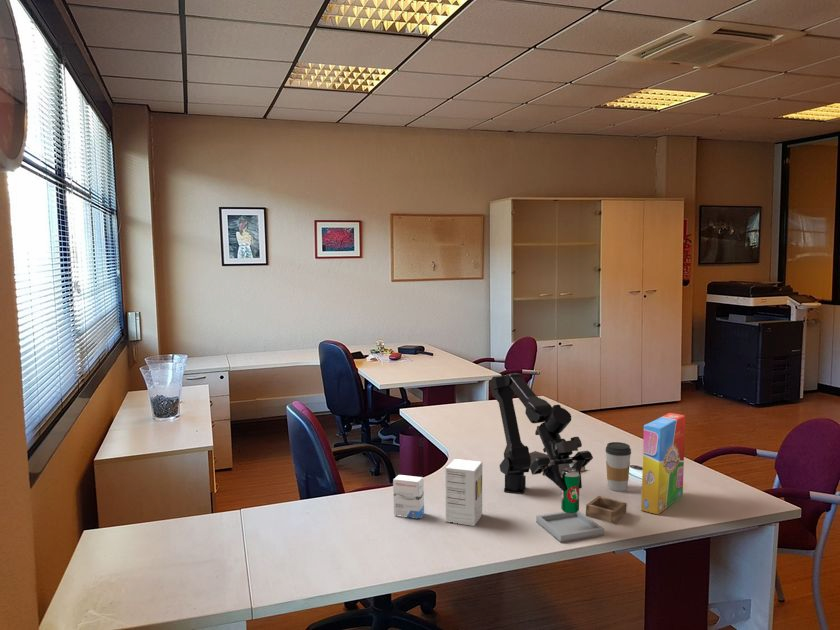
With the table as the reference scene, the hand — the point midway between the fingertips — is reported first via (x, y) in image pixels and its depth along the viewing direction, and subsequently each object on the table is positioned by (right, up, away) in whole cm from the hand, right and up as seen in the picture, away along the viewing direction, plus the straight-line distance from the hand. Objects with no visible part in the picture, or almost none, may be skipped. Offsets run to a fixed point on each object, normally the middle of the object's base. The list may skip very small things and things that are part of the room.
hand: (572, 489), depth 181 cm
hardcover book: (+3, -7, +55) cm, 55 cm away
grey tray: (-1, -12, +2) cm, 12 cm away
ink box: (-47, -12, +13) cm, 50 cm away
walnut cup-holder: (+13, -11, +11) cm, 21 cm away
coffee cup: (+23, -9, +33) cm, 41 cm away
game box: (+33, -10, +20) cm, 40 cm away
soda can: (0, -7, +2) cm, 7 cm away
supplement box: (-30, -12, +10) cm, 34 cm away
